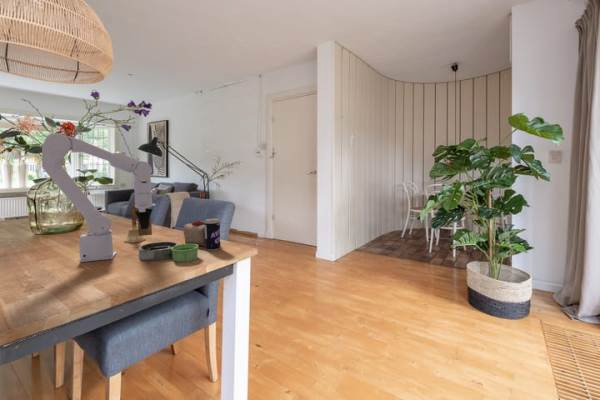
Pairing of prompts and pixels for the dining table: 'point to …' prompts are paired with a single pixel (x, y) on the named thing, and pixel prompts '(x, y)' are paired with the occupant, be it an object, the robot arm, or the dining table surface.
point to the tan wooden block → (145, 231)
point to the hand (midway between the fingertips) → (145, 228)
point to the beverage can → (212, 234)
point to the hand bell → (133, 229)
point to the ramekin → (185, 252)
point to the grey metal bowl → (156, 251)
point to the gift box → (195, 233)
